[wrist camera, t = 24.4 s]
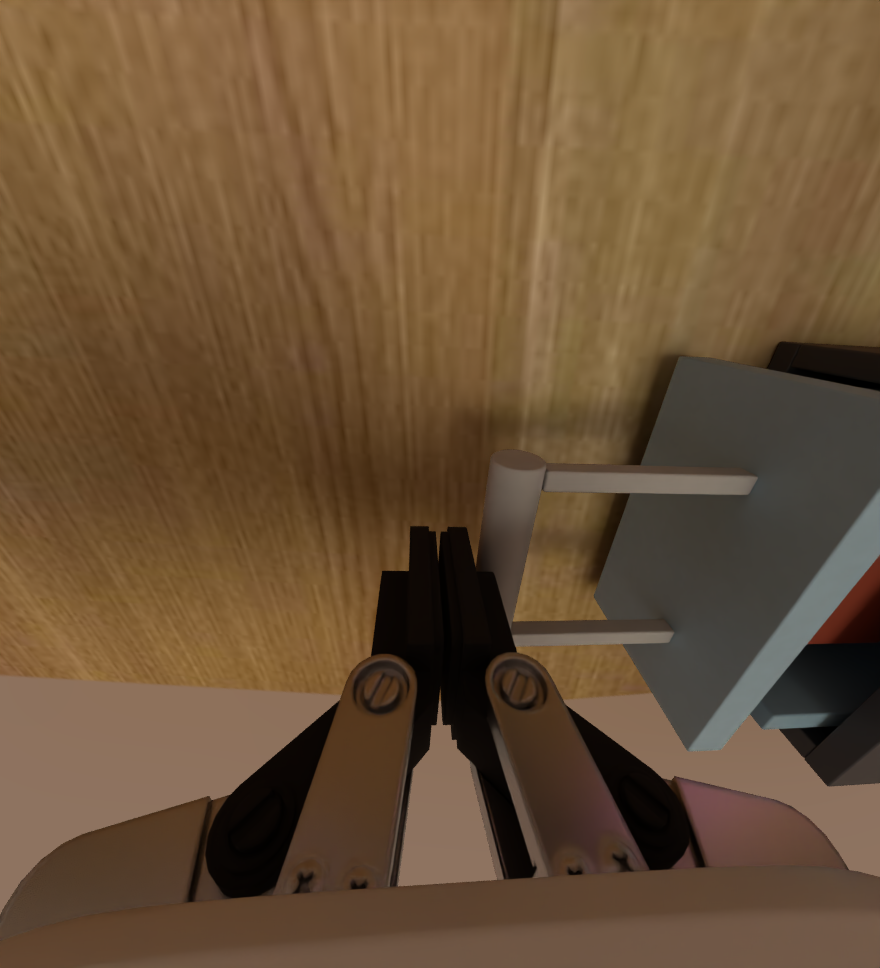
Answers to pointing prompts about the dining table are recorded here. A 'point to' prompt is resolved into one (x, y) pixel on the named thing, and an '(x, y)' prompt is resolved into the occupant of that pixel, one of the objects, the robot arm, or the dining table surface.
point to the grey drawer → (721, 548)
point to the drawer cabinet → (876, 722)
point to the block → (855, 613)
